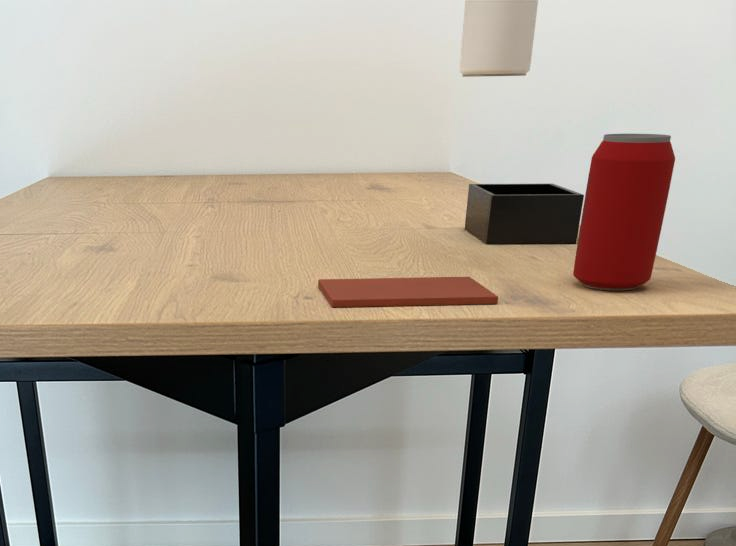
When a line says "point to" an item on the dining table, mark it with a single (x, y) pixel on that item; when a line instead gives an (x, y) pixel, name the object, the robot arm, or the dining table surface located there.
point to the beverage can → (623, 211)
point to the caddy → (523, 213)
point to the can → (497, 37)
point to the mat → (405, 291)
